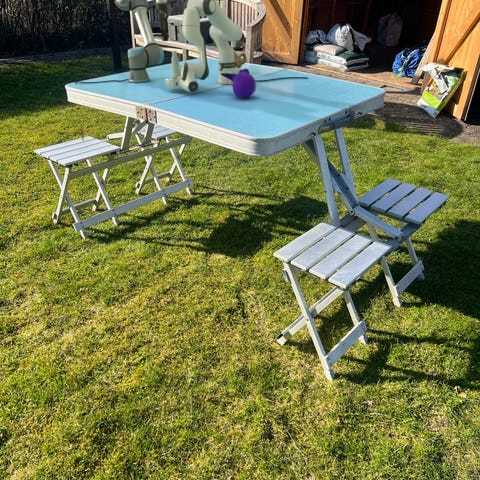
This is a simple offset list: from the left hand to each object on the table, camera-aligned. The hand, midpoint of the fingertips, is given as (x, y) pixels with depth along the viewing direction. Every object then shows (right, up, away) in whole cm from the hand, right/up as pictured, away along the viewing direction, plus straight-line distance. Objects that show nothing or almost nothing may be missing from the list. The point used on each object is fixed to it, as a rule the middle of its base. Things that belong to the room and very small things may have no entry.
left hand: (165, 40), depth 313 cm
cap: (0, +2, -1) cm, 2 cm away
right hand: (+8, -27, -1) cm, 29 cm away
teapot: (+48, +1, +59) cm, 76 cm away
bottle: (+9, -33, +1) cm, 34 cm away
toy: (+52, -46, -22) cm, 73 cm away
